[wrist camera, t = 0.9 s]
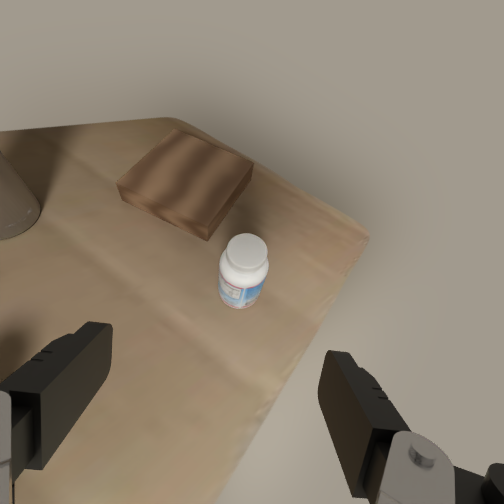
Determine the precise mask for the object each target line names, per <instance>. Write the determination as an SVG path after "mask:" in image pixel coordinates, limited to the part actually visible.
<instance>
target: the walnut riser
mask: <svg viewBox="0 0 504 504" xmlns="http://www.w3.org/2000/svg"><path fill="white" fill-rule="evenodd" d="M253 164H254V163H253V162H251V161H248V160H246V159H244V158H241V157H239V156H237V155H235V154H232V153H230V152H228V151H225V150H223V149H221V148H219V147H216V146H214V145H212V144H209V143H207V142H205V141H203V140H200V139H198V138H196V137H193V136H191V135H189V134H187V133H184V132H182V131H180V130H177V129H174V130H173V131H172V132H171V133H169V134H168V135H167V136H166V137H165V138H164V139H163V140H162V141H161V142H160V143H158V144H157V145H156V146H155V147H154V148H153V149H152V150H151V151H150V152H149V153H148V154H146V155H145V156H144V157H143V158H142V159H141V160H140V161H139V162H138V163H137V164H135V165H134V166H133V167H132V168H131V169H130V170H129V171H128V172H127V173H126V174H124V175H123V176H122V177H121V178H120V179H119V180H118V181H117V182H116V185H117V188H118V190H119V193H120V195H121V198H122V200H123V201H125V202H127V203H129V204H131V205H133V206H135V207H138V208H140V209H142V210H144V211H146V212H148V213H150V214H152V215H154V216H156V217H158V218H160V219H162V220H164V221H166V222H169V223H171V224H173V225H175V226H177V227H179V228H181V229H183V230H185V231H187V232H189V233H191V234H193V235H195V236H197V237H199V238H202V239H204V240H206V241H208V240H209V239H210V237H211V236H212V234H213V233H214V232H215V230H216V229H217V227H218V226H219V224H220V223H221V221H222V220H223V219H224V217H225V216H226V214H227V213H228V211H229V210H230V209H231V207H232V206H233V204H234V203H235V201H236V200H237V199H238V197H239V196H240V194H241V193H242V191H243V190H244V189H245V187H246V186H247V184H248V183H249V181H250V180H251V176H252V170H253Z"/></svg>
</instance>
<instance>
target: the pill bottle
mask: <svg viewBox="0 0 504 504" xmlns="http://www.w3.org/2000/svg"><path fill="white" fill-rule="evenodd" d="M268 268H269V263H268V258H267V246H266V244H265V243H264V241H263V240H262V239H261V238H259V237H258V236H256V235H253V234H249V233H243V234H239V235H236V236H234V237H233V238H232V239H231V240H230V241H229V243H228V245H227V248H226V249H225V250H224V252H223V253H222V255H221V258H220V262H219V281H218V291H219V295H220V297H221V299H222V300H223V302H224V303H225V304H227V305H228V306H230V307H233V308H238V309H241V308H246V307H249V306H251V305H252V304H253V303H254V302H255V301H256V300H257V298H258V296H259V294H260V291H261V289H262V286H263V283H264V281H265V278H266V275H267V272H268Z"/></svg>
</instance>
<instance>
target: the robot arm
mask: <svg viewBox="0 0 504 504" xmlns="http://www.w3.org/2000/svg"><path fill="white" fill-rule="evenodd" d="M40 208H41V207H40V203H39V202H38V200H37V199H36V197H35V196H34V195H33V193H32V192H31V191H30V189H29V188H28V187H27V186H26V184H25V183H24V181H23V180H22V179H21V177H20V176H19V175H18V174H17V172H16V171H15V170H14V168H13V167H12V166H11V164H10V163H9V162H8V160H7V159H6V158H5V157H4V155H3V154H2V153H1V151H0V240H2V239H7V238H10V237H13V236H16V235H18V234H20V233H22V232H24V231H25V230H27V229H28V228H30V227H31V226H32V225H33V224H34V223H35V221H36V220H37V219H38V217H39V214H40ZM112 334H113V328H112V325H111V324H108V323H99V322H91V321H89V322H87V323H85V324H84V325H83V326H82V327H81V328H80V329H79V330H77V331H76V332H75V333H74V334H67V335H64V336H62V337H60V338H58V339H56V340H53V341H52V342H51V343H49V344H48V345H47V346H46V347H45V348H43V349H42V350H41V352H38V353H37V354H36V355H35V356H34V357H32V358H31V360H30V361H27V362H26V363H25V364H24V365H22V366H21V367H20V368H19V369H18V370H16V371H15V372H14V373H13V374H11V375H10V376H9V377H8V378H7V379H5V380H4V381H3V382H2V383H0V504H15V480H16V479H17V478H18V477H19V475H20V474H21V473H22V471H23V470H24V469H33V470H43V468H44V467H45V465H46V464H47V462H48V461H49V460H50V458H51V457H52V455H53V454H54V453H55V451H56V450H57V448H58V447H59V445H60V444H61V443H62V441H63V440H64V438H65V437H66V435H67V434H68V433H69V431H70V430H71V428H72V427H73V426H74V424H75V423H76V421H77V420H78V418H79V417H80V416H81V414H82V413H83V411H84V410H85V408H86V407H87V406H88V404H89V403H90V401H91V400H92V399H93V397H94V396H95V394H96V393H97V391H98V390H99V389H100V387H101V386H102V384H103V383H104V381H105V380H106V378H107V376H108V373H109V370H110V367H111V357H112ZM318 400H319V404H320V407H321V410H322V413H323V416H324V419H325V421H326V424H327V427H328V430H329V433H330V435H331V438H332V441H333V444H334V447H335V450H336V453H337V455H338V458H339V461H340V464H341V467H342V469H343V472H344V475H345V478H346V481H347V484H348V486H349V489H350V492H351V495H352V497H355V498H367V499H368V501H369V503H370V504H504V464H500V463H495V464H492V465H490V466H489V468H488V471H487V473H486V475H485V477H483V476H480V475H478V474H475V473H472V472H469V471H467V470H464V469H461V468H458V467H456V466H453V464H452V463H451V461H450V459H449V458H448V456H447V455H446V454H445V453H444V452H443V451H442V450H441V449H440V448H439V447H438V446H437V445H436V444H434V443H433V442H432V441H430V440H429V439H427V438H425V437H423V436H421V435H419V434H416V433H414V432H412V431H411V430H410V429H409V427H408V426H407V424H406V423H405V421H404V420H403V418H402V417H401V416H400V414H399V413H398V411H397V410H396V408H395V407H394V406H393V404H392V403H391V401H390V400H388V397H387V395H386V394H385V392H384V391H382V388H381V387H380V385H379V384H378V382H377V381H376V380H375V378H374V377H373V376H372V375H370V374H369V373H368V372H367V371H366V370H365V369H363V368H360V367H358V366H357V364H356V362H355V361H354V359H353V358H352V356H351V355H350V354H349V353H348V352H340V351H331V350H328V351H327V353H326V356H325V360H324V364H323V368H322V372H321V377H320V381H319V386H318Z"/></svg>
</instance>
